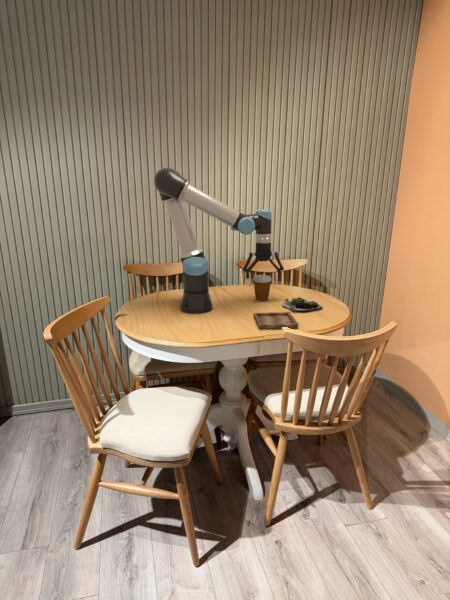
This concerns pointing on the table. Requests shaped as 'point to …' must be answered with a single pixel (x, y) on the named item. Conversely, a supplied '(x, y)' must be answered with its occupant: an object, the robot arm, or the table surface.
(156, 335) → the table surface
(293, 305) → the salad plate
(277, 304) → the table surface
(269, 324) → the walnut tray
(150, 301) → the table surface
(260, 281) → the disposable coffee cup
